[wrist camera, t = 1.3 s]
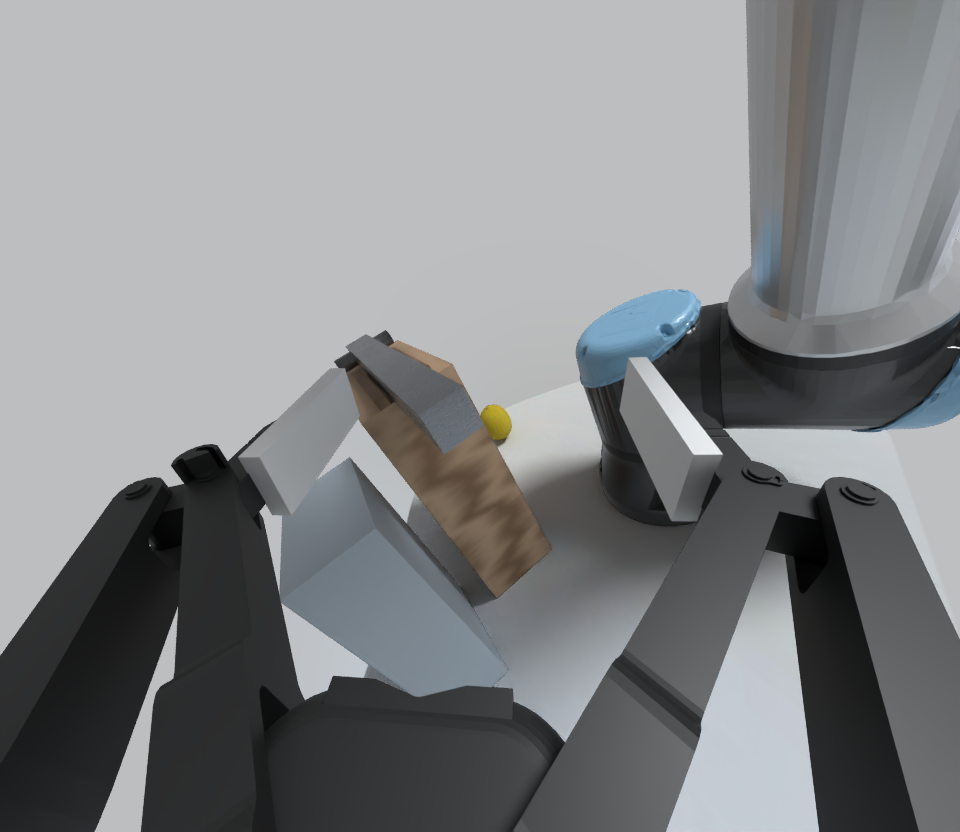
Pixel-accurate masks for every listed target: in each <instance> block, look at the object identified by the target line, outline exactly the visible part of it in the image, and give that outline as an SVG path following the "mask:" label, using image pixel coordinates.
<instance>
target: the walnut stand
mask: <svg viewBox="0 0 960 832" xmlns="http://www.w3.org/2000/svg"><path fill="white" fill-rule="evenodd" d="M389 347H391V348H393V349H394V350H396V351H398V352H400V353H402V354H404V355H406V356H408V357H410V358H411V359H413V360H415V361H417V362H419V363H421V364H423V365H425V366H427V367H428V368H430V369H432V370H434V371H436V372H438V373H440V374H442V375H444V376H445V377H447V378H449V379H451V380H453V381H455V382H457V383H459V384H461V385H462V386H463V387H464V385H463V383H462V381H461V379H460V378H459V376H458V374H457V372H456V370H455V368H454V367H453V365H452V363H449V362H447V361H445V360H442V359H440V358H438V357H435V356H433V355H431V354H428V353H426V352H424V351H421V350H419V349H417V348H414V347H412V346H410V345H407V344H405V343H402V342H400V341H398V340H397V341H395V342H394V344H392V345H390V346H389ZM346 374H347V377H348V380H349V383H350V386H351V389H352V392H353V396H354V399H355V402H356V405H357V408H358V411H359V414H360V417H359V418H358V419H359V421H360V422H361V424H362V425H363V427H364V428H365V429H366V431H367V432H368V433H369V434H370V436H371V437H372V438H373V440H374V441H375V442H376V443H377V445H378V446H379V447H380V449H381V450H382V451H383V453H385V455H386V456H387V458H388V459H389V460H390V461H391V463H392V464H393V465H394V467H395V468H396V469H397V470H398V472H399V473H400V474H401V476H402V477H403V478H404V480H405V481H406V482H407V483H408V485H409V486H410V487H411V488H412V490H413V491H414V492H415V494H416V495H417V496H418V498H419V499H420V500H421V502H422V503H423V504H424V505H425V507H426V508H427V509H428V511H429V512H430V513H431V514H432V516H433V517H434V518H435V520H436V521H437V522H438V523H439V525H440V526H441V527H442V529H443V530H444V531H445V532H446V534H447V535H448V536H449V538H450V539H451V540H452V541H453V543H454V544H455V545H456V547H457V548H458V549H459V550H460V552H461V553H462V554H463V556H464V557H465V558H466V560H467V561H468V562H469V563H470V565H471V566H472V567H473V569H474V570H475V571H476V572H477V574H478V575H479V576H480V578H481V579H482V580H483V581H484V583H485V584H486V585H487V587H488V588H489V589H490V590H491V592H492V593H493V594H494V596H495V597H496V598H498V597H499V596H501V595H502V594H503V593H504V592H505V591H506V590H507V589H508V588H509V587H511V586H512V585H513V584H514V583H515V582H516V581H517V580H518V579H519V578H521V577H522V576H523V575H524V574H525V573H526V572H527V571H528V570H529V569H531V568H532V567H533V566H534V565H535V564H536V563H537V562H538V561H539V560H541V559H542V558H543V557H544V556H545V555H546V554H547V553H548V552H549V551H551V550H552V548H551V546H550V545H549V543H548V541H547V539H546V537H545V535H544V533H543V532H542V530H541V528H540V526H539V524H538V522H537V520H536V519H535V517H534V515H533V513H532V511H531V509H530V507H529V506H528V504H527V502H526V500H525V498H524V496H523V494H522V493H521V491H520V489H519V487H518V485H517V483H516V481H515V480H514V478H513V476H512V474H511V472H510V470H509V468H508V467H507V465H506V463H505V461H504V459H503V457H502V455H501V454H500V452H499V450H498V448H497V446H496V444H495V443H494V441H493V439H492V437H491V435H490V433H489V431H488V430H487V428H486V426H485V424H484V422H483V420H482V418H481V417H480V415H479V413H478V411H477V409H476V407H475V405H474V404H473V402H472V400H471V398H470V396H469V394H468V392H467V391H466V389H465V387H464V389H465V391H466V393H467V395H468V396H469V398H470V400H471V402H472V404H473V406H474V407H475V409H476V411H477V413H478V415H479V417H480V419H481V420H482V422H483V424H484V426H482V427H481V428H480V429H478V430H477V431H476V432H474V433H473V434H471V435H470V436H469V437H467V438H466V439H465V440H463V441H462V442H461V443H459V444H458V445H457V446H455V447H454V448H453V449H451V450H450V451H449V452H447V453H446V454H443V452H442V451H441V450H440V449H439V448H438V447H437V446H436V445H435V444H434V443H433V442H432V441H431V440H430V439H429V438H428V437H427V436H426V435H425V434H424V433H423V432H422V431H421V430H420V429H419V428H418V427H417V425H416V424H415V423H414V422H413V421H412V420H411V419H410V418H409V417H408V416H407V415H406V414H405V413H404V412H403V411H402V410H401V409H400V408H399V407H398V406H397V405H396V404H395V403H394V402H393V401H392V400H391V398H390V397H389V396H388V395H387V394H386V393H385V392H384V391H383V390H382V389H381V388H380V387H379V386H378V385H377V384H376V383H375V382H374V381H373V380H372V379H371V378H370V377H369V376H368V375H367V374H366V373H365V371H364V370H363V369H362V368H361V367H360V366H359V365H358V366H357V367H355V368H353V369H352V370H350V371H349V372H347V373H346Z"/></svg>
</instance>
